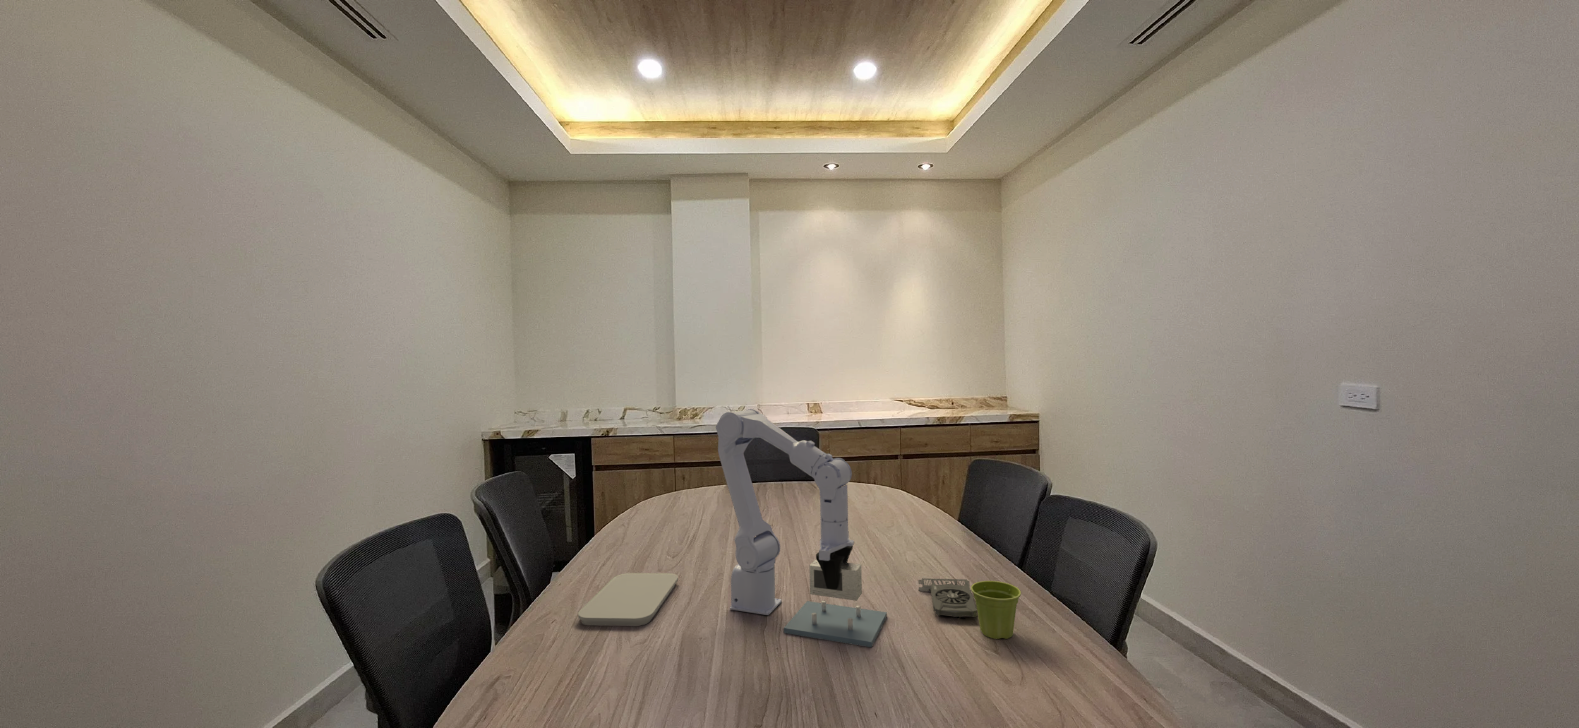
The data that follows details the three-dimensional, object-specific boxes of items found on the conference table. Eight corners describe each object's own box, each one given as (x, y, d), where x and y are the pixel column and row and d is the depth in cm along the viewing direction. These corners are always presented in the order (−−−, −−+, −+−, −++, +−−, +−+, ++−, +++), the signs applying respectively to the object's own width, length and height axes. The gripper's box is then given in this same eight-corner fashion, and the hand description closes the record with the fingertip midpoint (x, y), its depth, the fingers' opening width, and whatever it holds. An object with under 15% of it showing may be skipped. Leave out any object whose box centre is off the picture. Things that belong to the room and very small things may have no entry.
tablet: (572, 628, 121) (572, 617, 121) (618, 581, 147) (618, 572, 147) (648, 629, 120) (648, 618, 120) (681, 582, 146) (681, 573, 146)
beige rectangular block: (809, 594, 120) (809, 565, 120) (816, 587, 123) (815, 559, 123) (856, 600, 116) (856, 570, 116) (861, 593, 120) (861, 564, 120)
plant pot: (1010, 649, 108) (1009, 602, 108) (963, 633, 115) (962, 590, 115) (1029, 631, 115) (1028, 588, 115) (983, 618, 122) (982, 577, 122)
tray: (783, 632, 117) (783, 617, 117) (807, 605, 130) (806, 591, 130) (871, 647, 110) (871, 631, 110) (886, 616, 123) (886, 602, 123)
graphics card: (918, 576, 138) (970, 577, 136) (918, 592, 138) (971, 593, 136) (921, 606, 121) (980, 608, 119) (922, 624, 121) (981, 626, 119)
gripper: (842, 529, 111) (844, 600, 111) (861, 511, 125) (862, 574, 125) (808, 526, 114) (809, 595, 114) (830, 509, 128) (831, 570, 128)
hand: (835, 584), depth 120 cm, fingers closed on beige rectangular block, 4 cm apart
